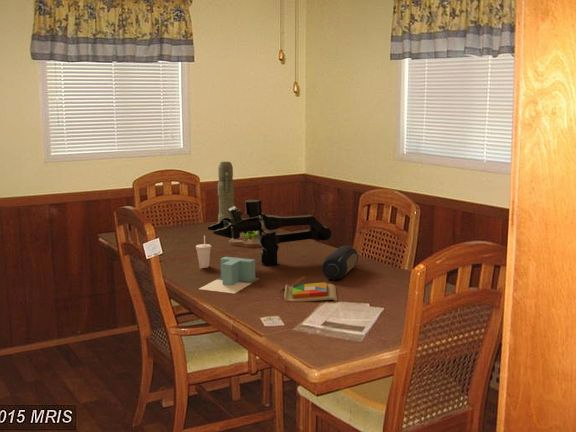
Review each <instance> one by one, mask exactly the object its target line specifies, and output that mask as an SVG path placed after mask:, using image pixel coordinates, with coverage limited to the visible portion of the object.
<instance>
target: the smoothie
mask: <svg viewBox="0 0 576 432" xmlns="http://www.w3.org/2000/svg"><path fill="white" fill-rule="evenodd" d="M195 249H196V253H197V260H198V266H199V270H201V269H205V268H209V267H210V257H211V249H212V245H211V244H207V243H206V235H203V243H201V244H197V245H195Z"/></svg>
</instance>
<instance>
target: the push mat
mask: <svg viewBox="0 0 576 432" xmlns="http://www.w3.org/2000/svg"><path fill="white" fill-rule="evenodd" d="M260 279H261V278H260V277H255V280H254V281H252V282H245V281H239V282H238V283H236V284H234V285H232V286H231V285H223V284H222V279H221V276H220V277H219V278H217V279H215V280H213V281H211V282H209V283H207V284H205V285H204V286H201V287H200V288H198V290H202V291H211V292H220V293H229V294H236V293H238V292H240V291H241V290H243V289H245V288H246V287H248V286H250V285H252V284H254V283H255V282H257V281H259V280H260Z"/></svg>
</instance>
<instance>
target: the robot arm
mask: <svg viewBox="0 0 576 432" xmlns="http://www.w3.org/2000/svg"><path fill="white" fill-rule="evenodd" d="M244 208H245V215H246V216H248V218H243V217H242V216H243V212H242V210H240V209H239V210H238V208H237V207H236V206H235V205H234V206H233V207H231V208H229V209H228V212H229V213H230V215H231V218H232V219H229V218H228V217H222V218H221V220H220V221H219V222H218V221H217V222H216V223H214V224H211V225H208V226H207V230H209V231H212V234H213V235H217V236H220V237H224V238H227V239H232V238H233V239H238V238H239V237H240V235H241V234H242V233H244V234H245V235H246V233H247V232H252V231H254V232H256V231H257V234H258V235H257V237H256V240H257V243H258V244H260V245H261V247H260V248H261V251H260V253H259V254H260V255H259V257H260V259H259V262H260V263H261V265H263V266H274V265H275V266H276V265H279V262H278V251H279V249H280V248H279V247H280V246H279V245H280V244H283V243H290V242H299V241H306V240H314V241H315V240H316V241H323V242H324V241H328V240H330V238H331V236H332V230H331V229H330V228H328V227H327V226H325V225H323V224H322V223H321V222H320V221H319V220H318V219H317V218H316V217H315V216H313V215H311V214H306V215H289V216H280V215H274V214H265V213H264V212H262V200H261V199H247V200H245V201H244ZM230 220H231V221H230ZM294 226H295V227H296V226H297V227H298V226H308V227H309V228H308V229H301V230H293V231H286V232H285V231H284V232H276V231H275V230H278V229H281V228H283V227H294ZM263 228H264V229H266V230H264V229H263Z"/></svg>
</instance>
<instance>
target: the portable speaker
mask: <svg viewBox="0 0 576 432" xmlns="http://www.w3.org/2000/svg"><path fill="white" fill-rule="evenodd" d="M358 261H359V254H358V252H357V249H356V248H354V247H353V246H351V245H341V246H339V247H338V248H337V249H335V250H334V251H332V252H331V253H330V254H329V255H328V256H326V257H325V258H324V260H323V262H322V264H321V272H322V274H323V275H324V276H325V278H327V279H329V280H333V281H335V280H336V281H337V280H340V279H342V278H343V277H345V275H347V274H348V273H349V272H350V271H351V270H352V269H353V268H354V267H355V266H356V265H357V263H358Z"/></svg>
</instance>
